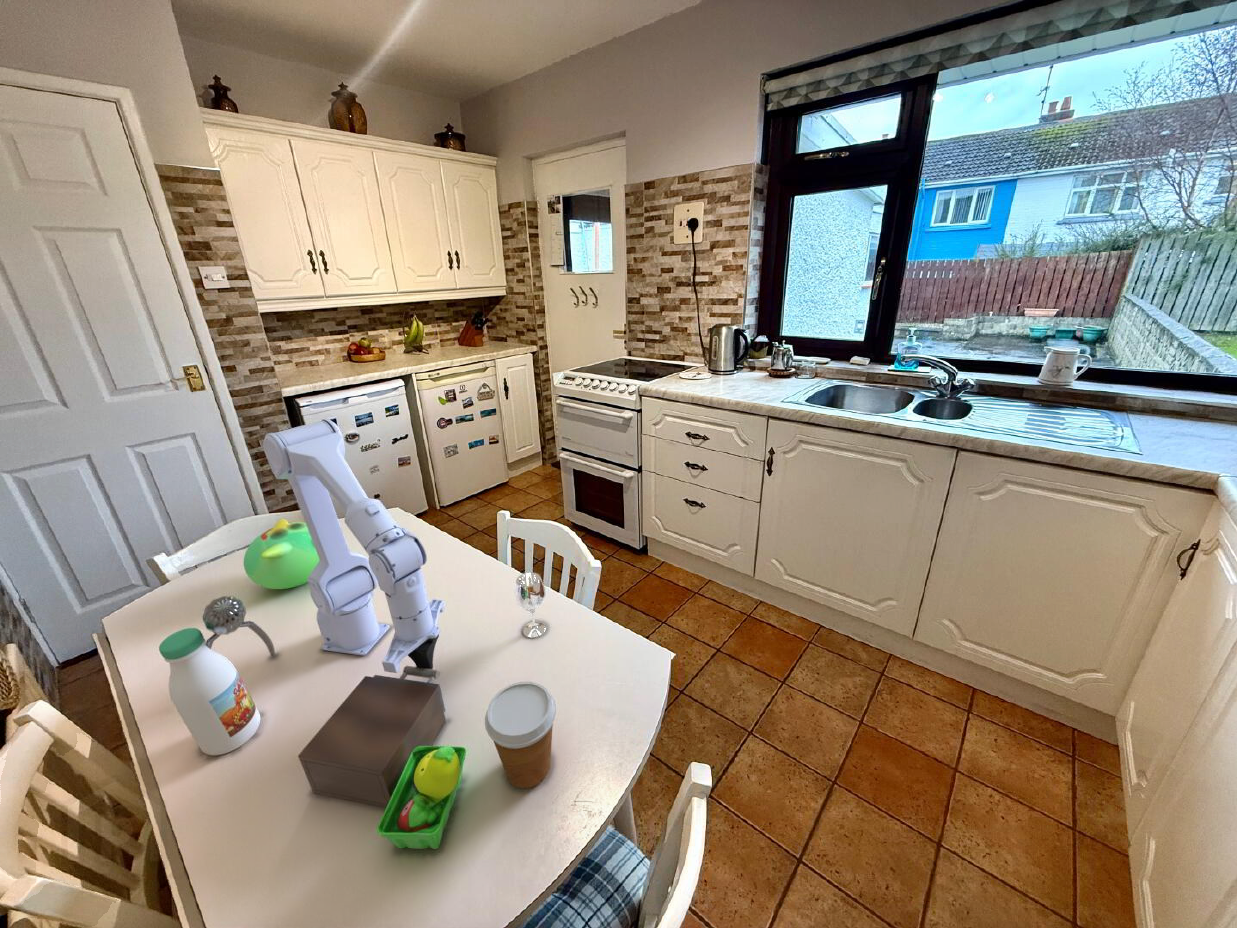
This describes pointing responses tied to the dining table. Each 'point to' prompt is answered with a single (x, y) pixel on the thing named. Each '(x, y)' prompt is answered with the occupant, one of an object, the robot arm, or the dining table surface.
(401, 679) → the drawer
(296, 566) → the toy bird
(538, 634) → the wineglass
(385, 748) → the cabinet
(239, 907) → the dining table surface
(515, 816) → the dining table surface
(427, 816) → the fruit basket
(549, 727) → the disposable coffee cup
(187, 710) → the milk bottle
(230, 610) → the juicer
